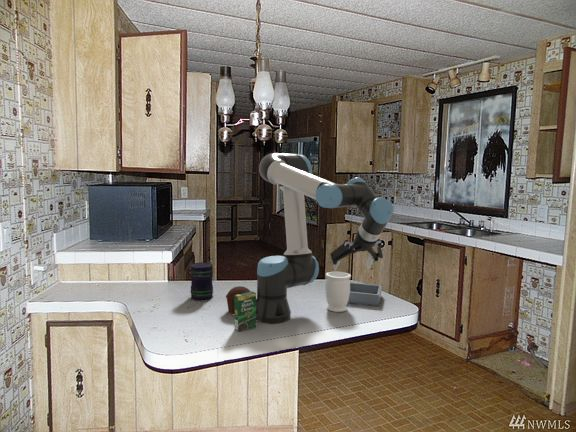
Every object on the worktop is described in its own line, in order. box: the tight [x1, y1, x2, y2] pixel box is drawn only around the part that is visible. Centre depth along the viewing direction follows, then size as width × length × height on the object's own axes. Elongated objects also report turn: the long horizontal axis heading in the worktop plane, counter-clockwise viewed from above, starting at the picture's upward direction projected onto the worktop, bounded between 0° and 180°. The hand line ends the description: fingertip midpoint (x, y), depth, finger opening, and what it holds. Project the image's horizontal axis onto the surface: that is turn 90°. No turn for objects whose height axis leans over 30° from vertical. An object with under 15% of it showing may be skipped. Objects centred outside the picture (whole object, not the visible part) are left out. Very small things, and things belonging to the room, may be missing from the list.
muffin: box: [225, 286, 252, 316], centre depth 166 cm, size 12×11×10 cm
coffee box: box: [233, 290, 257, 332], centre depth 149 cm, size 8×3×13 cm, turn 127°
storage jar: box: [190, 261, 214, 302], centre depth 183 cm, size 10×10×15 cm
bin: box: [347, 282, 382, 307], centre depth 187 cm, size 16×16×5 cm
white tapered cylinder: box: [324, 271, 352, 313], centre depth 172 cm, size 11×10×15 cm
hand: (350, 267), depth 159 cm, fingers open, 13 cm apart
